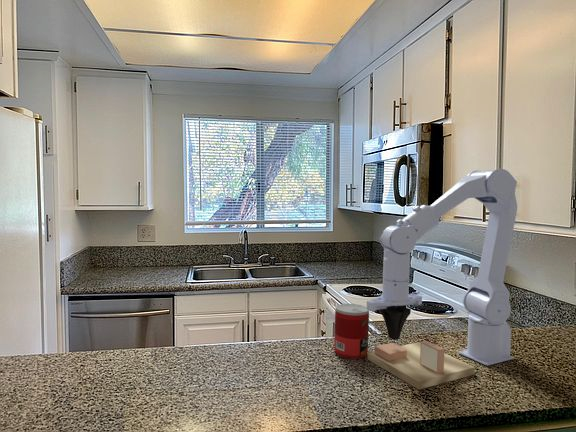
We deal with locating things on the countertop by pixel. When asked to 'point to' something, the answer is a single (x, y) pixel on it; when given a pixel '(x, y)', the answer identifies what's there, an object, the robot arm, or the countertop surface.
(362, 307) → the canned food
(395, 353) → the tile
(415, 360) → the board
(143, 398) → the countertop surface
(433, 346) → the tile
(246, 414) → the countertop surface
